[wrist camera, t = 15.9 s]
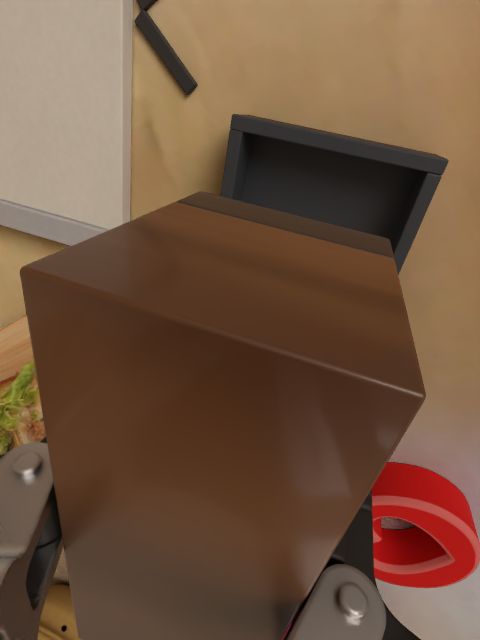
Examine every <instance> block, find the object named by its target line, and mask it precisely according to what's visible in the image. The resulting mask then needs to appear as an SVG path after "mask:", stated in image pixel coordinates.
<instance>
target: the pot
mask: <svg viewBox="0 0 480 640" xmlns="http://www.w3.org/2000/svg"><path fill="white" fill-rule="evenodd" d="M37 640H82V639H80V638H79V637H78V634H77V627H76V621H75V615H74V608H73V602H72V596H71V590H70V586H67V585H60V584H57V585H52V586H50V589H49V592H48V595H47V598H46V601H45V604H44V607H43V610H42V614H41V618H40V623H39V632H38V639H37Z"/></svg>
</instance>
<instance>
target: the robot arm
mask: <svg viewBox="0 0 480 640" xmlns="http://www.w3.org/2000/svg"><path fill="white" fill-rule="evenodd" d="M371 495H372V489H371V490H370V492H369V494H368V495H367V497H366V499H365V500H364V502H363V504H362V505H361V507H360V509H359V510H358V512H357V514H356V515H355V517H354V519H353V520H352V522H351V524H350V525H349V527H348V529H347V530H346V532H345V534H344V535H343V537H342V539H341V540H340V542H339V544H338V545H337V547H336V549H335V550H334V552H333V554H332V555H331V557H330V559H329V560H328V562H327V564H326V565H325V567H324V569H323V570H322V572H321V574H320V576H319V577H318V579H317V581H316V582H315V584H314V586H313V587H312V589H311V591H310V592H309V594H308V596H307V597H306V599H305V601H304V602H303V604H302V606H301V607H300V609H299V611H298V612H297V614H296V616H295V617H294V619H293V621H292V624H291V625H290V627H289V629H288V631H287V633H286V634H285V636H284V638H283V640H421V639H419V638H418V637H417V636H416V635H414V634H413V633H412V632H411V631H409V630H408V629H407V628H406V627H405V626H403V625H402V624H401V623H400V622H399V621H398V620H397V619H396V618H395V617H394V616H393V615H392V613H391V612H390V611H389V609H388V608H387V606H386V605H385V603H384V601H383V600H382V598H381V595H380V593H379V591H378V588H377V586H376V582H375V577H374V553H373V514H372V497H371ZM62 549H63V539H62V533H61V527H60V521H59V514H58V508H57V502H56V496H55V489H54V483H53V477H52V470H51V464H50V458H49V452H48V445H47V439H46V437H45V438H43V439H42V440H41V441H40V442H34V443H28V444H24V445H21V446H18V447H16V448H14V449H12V450H11V451H9V452H8V453H6V454H5V455H0V640H37V639H38V632H39V623H40V618H41V614H42V610H43V607H44V604H45V601H46V598H47V595H48V592H49V589H50V586H51V582H52V579H53V576H54V573H55V570H56V567H57V564H58V561H59V558H60V555H61V552H62Z"/></svg>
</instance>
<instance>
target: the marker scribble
mask: <svg viewBox="0 0 480 640" xmlns="http://www.w3.org/2000/svg"><path fill="white" fill-rule="evenodd" d="M156 1H157V0H138V2H139V4H140V6H141V8H142V10H141V12H140V13H139V15H138V16H137V18H136V19H135V23H136V24H137V26H138V27H139V29H140V30H141V31H142V33H143V34H144V36H145V37H146V38H147V40H148V41H149V43H150V44H151V45H152V47H153V48H154V50H155V51H156V53H157V54H158V55H159V57H160V58H161V60H162V61H163V62H164V64H165V65H166V67H167V68H168V69H169V71H170V72H171V74H172V75H173V76H174V78H175V79H176V81H177V82H178V83H179V85H180V86H181V88H182V89H183V91H184V92H185V93H186V95H190V94H191V93H192V92H193V91H194V89H195V88H196V87H197V86H198V85H197V83H196V82H195V80H194V79H193V77H192V76H191V74H190V73H189V72H188V70H187V69H186V67H185V66H184V64H183V63H182V62H181V60H180V59H179V57H178V56H177V54H176V53H175V52H174V50H173V49H172V47H171V46H170V44H169V43H168V41H167V40H166V39H165V37H164V36H163V34H162V33H161V31H160V30H159V29H158V27H157V26H156V24H155V23H154V21H153V20H152V19H151V17H150V16H149V14H148V13H147V10H148V9H149V8H150V7H151V6H152V5H153V4H154V3H155V2H156Z"/></svg>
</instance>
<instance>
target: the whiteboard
mask: <svg viewBox="0 0 480 640" xmlns="http://www.w3.org/2000/svg"><path fill="white" fill-rule="evenodd" d="M132 39H133V0H0V225H2V226H5V227H9V228H12V229H15V230H19V231H22V232H26V233H29V234H32V235H36V236H39V237H42V238H46V239H49V240H53V241H56V242H59V243H63V244H66V245H69V246H72V245H75V244H77V243H80V242H82V241H84V240H87V239H89V238H91V237H94V236H96V235H98V234H101V233H103V232H106V231H108V230H110V229H113V228H115V227H117V226H120V225H122V224H124V223H127V222H129V221H130V196H131V118H132Z"/></svg>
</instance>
